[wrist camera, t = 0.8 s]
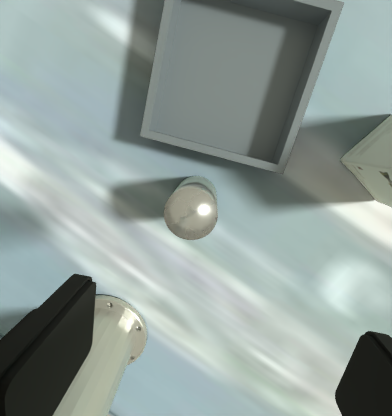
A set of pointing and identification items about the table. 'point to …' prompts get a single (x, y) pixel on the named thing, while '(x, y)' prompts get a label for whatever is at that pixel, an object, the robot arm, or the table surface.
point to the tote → (237, 75)
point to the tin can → (192, 208)
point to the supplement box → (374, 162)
